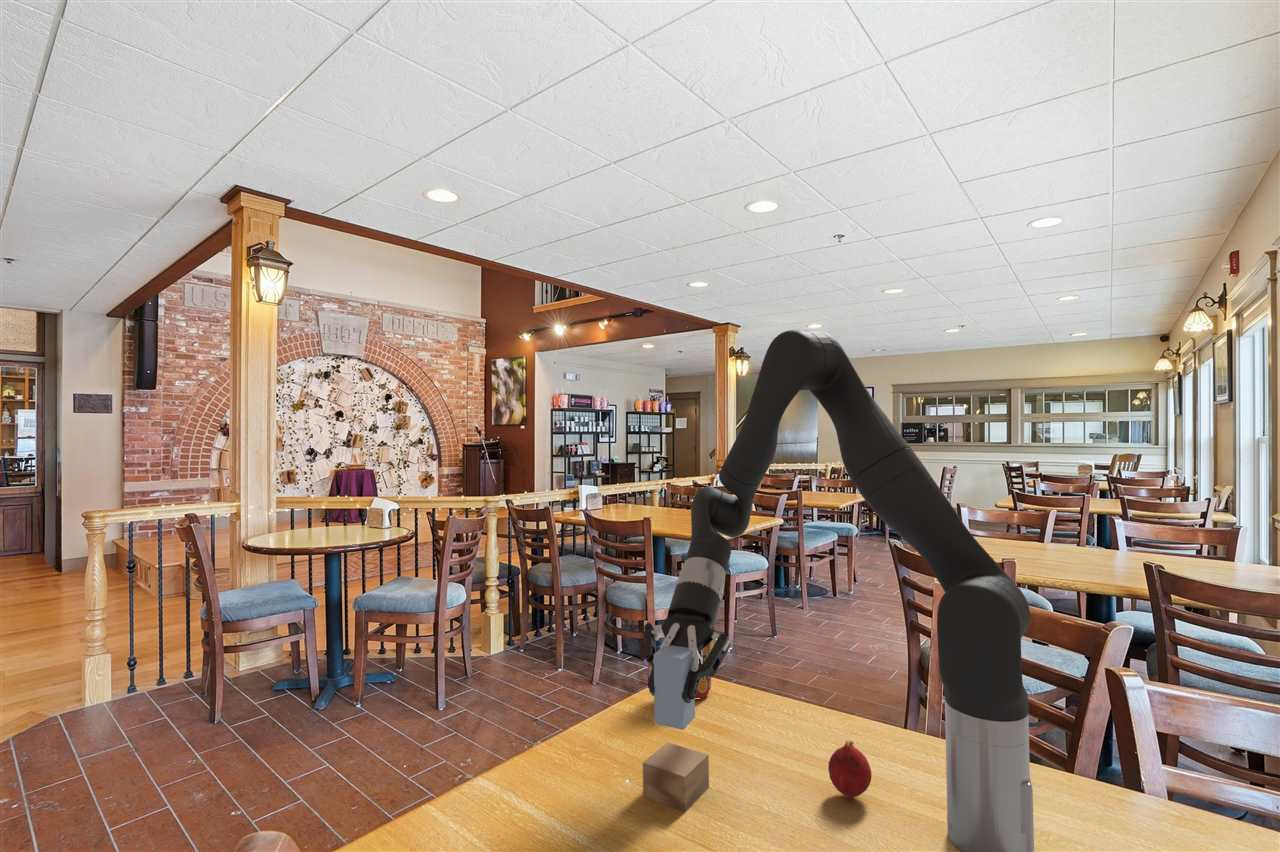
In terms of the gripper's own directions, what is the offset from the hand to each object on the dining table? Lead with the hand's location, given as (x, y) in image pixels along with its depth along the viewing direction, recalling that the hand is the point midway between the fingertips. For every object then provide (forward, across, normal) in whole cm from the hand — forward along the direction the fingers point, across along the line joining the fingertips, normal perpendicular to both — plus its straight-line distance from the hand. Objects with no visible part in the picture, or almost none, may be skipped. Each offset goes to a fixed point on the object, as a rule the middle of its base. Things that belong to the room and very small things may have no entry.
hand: (669, 696), depth 89 cm
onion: (+3, +23, +18) cm, 29 cm away
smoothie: (-14, -10, +35) cm, 39 cm away
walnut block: (+9, 0, +12) cm, 15 cm away
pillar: (+2, 0, +4) cm, 5 cm away
